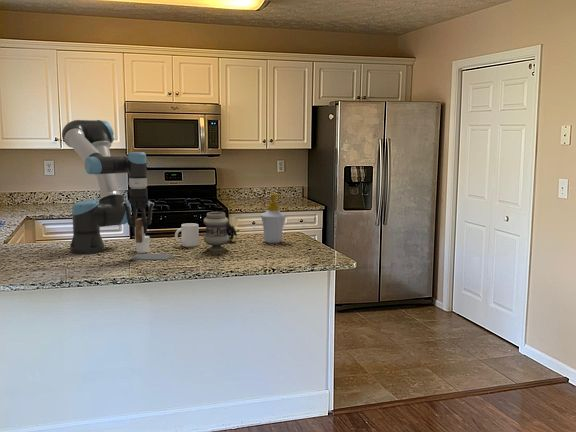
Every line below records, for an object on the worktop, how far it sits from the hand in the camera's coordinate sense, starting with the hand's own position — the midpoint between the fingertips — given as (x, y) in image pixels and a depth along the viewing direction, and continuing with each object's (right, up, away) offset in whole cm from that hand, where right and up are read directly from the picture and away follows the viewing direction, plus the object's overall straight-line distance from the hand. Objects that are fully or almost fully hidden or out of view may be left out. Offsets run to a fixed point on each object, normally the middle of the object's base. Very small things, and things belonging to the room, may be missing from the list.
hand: (140, 240), depth 251 cm
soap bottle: (+58, -2, +38) cm, 69 cm away
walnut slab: (0, 0, 0) cm, 0 cm away
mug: (+16, -4, +27) cm, 32 cm away
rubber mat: (+5, -7, +1) cm, 9 cm away
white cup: (-2, -6, +13) cm, 15 cm away
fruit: (+33, -2, +38) cm, 51 cm away
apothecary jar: (+32, -6, +16) cm, 36 cm away
